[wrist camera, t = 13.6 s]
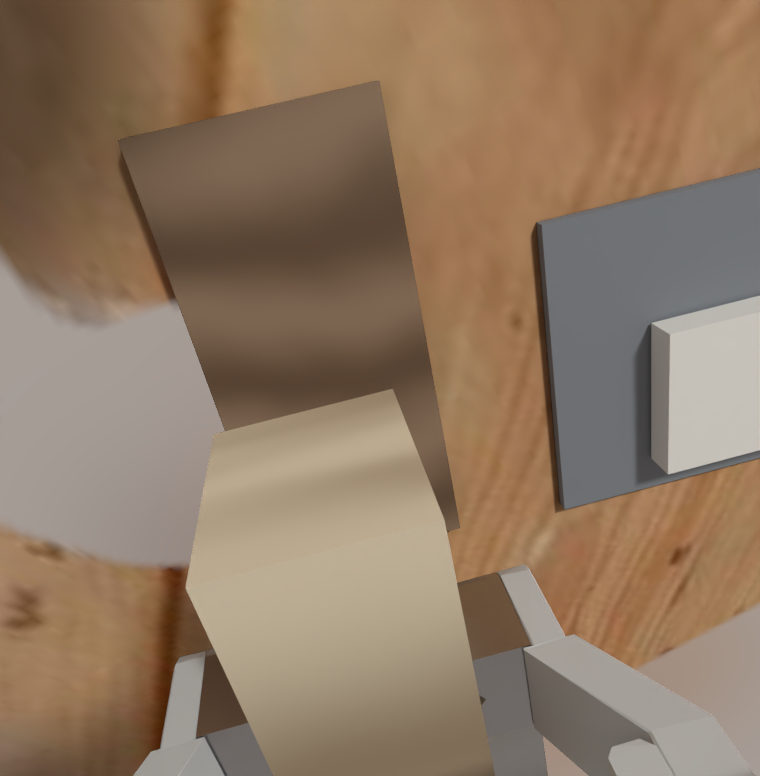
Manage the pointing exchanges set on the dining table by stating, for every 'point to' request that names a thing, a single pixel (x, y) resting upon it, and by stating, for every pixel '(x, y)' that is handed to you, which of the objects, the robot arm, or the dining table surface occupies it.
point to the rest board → (294, 262)
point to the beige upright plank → (342, 601)
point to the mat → (634, 318)
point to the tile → (705, 386)
